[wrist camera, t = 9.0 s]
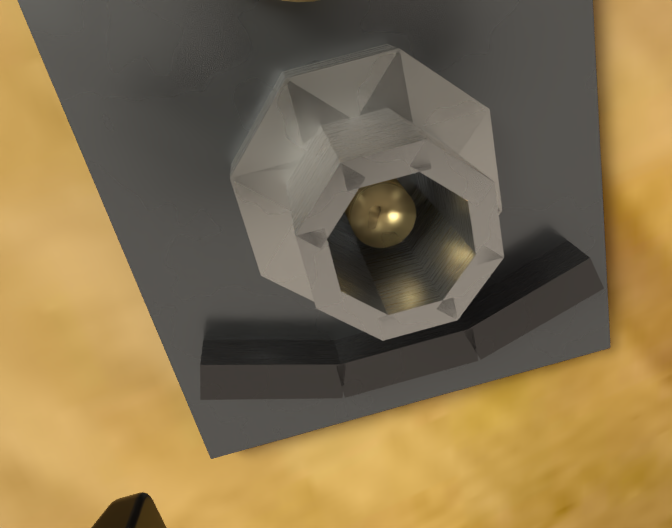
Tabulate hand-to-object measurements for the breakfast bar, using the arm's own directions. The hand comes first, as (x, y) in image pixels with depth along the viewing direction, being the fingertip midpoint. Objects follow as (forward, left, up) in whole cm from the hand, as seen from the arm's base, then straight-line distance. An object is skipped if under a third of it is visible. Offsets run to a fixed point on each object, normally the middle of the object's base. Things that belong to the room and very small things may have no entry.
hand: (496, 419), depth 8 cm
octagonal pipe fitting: (0, 0, -11) cm, 11 cm away
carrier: (0, -2, -12) cm, 12 cm away
